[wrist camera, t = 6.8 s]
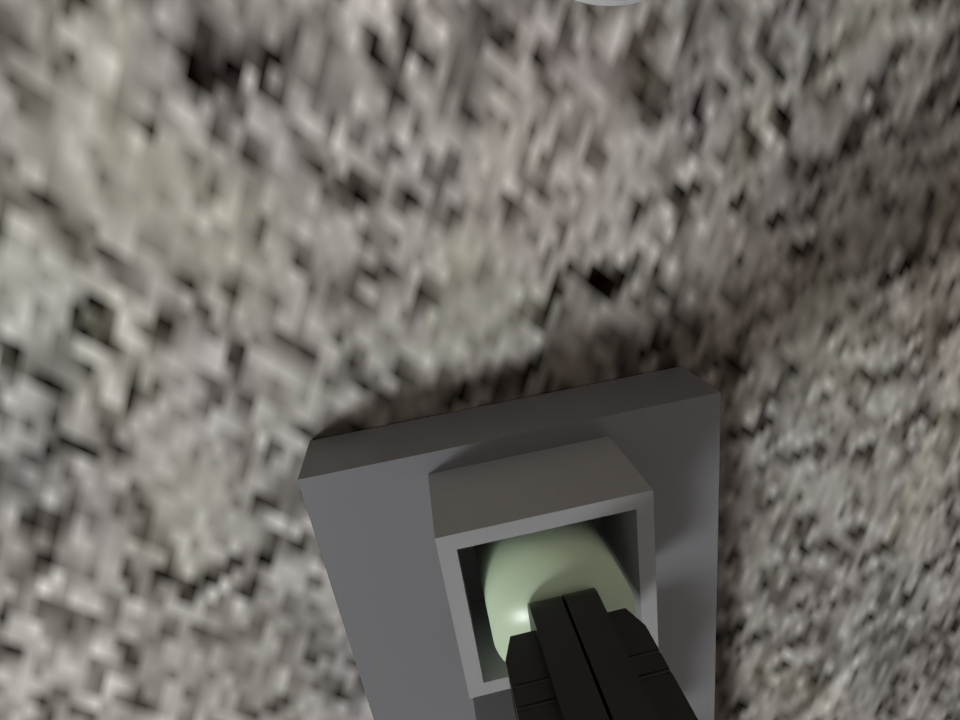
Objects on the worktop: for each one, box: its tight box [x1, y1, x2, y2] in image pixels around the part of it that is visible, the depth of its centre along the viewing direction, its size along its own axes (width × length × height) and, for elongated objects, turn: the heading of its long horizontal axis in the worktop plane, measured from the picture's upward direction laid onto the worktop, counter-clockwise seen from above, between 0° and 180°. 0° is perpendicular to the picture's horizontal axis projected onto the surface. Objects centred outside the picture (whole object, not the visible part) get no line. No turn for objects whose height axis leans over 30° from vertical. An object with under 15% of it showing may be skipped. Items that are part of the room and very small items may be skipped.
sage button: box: [474, 519, 635, 662], centre depth 13 cm, size 3×3×3 cm
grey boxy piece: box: [298, 366, 721, 720], centre depth 16 cm, size 11×19×4 cm, turn 8°
